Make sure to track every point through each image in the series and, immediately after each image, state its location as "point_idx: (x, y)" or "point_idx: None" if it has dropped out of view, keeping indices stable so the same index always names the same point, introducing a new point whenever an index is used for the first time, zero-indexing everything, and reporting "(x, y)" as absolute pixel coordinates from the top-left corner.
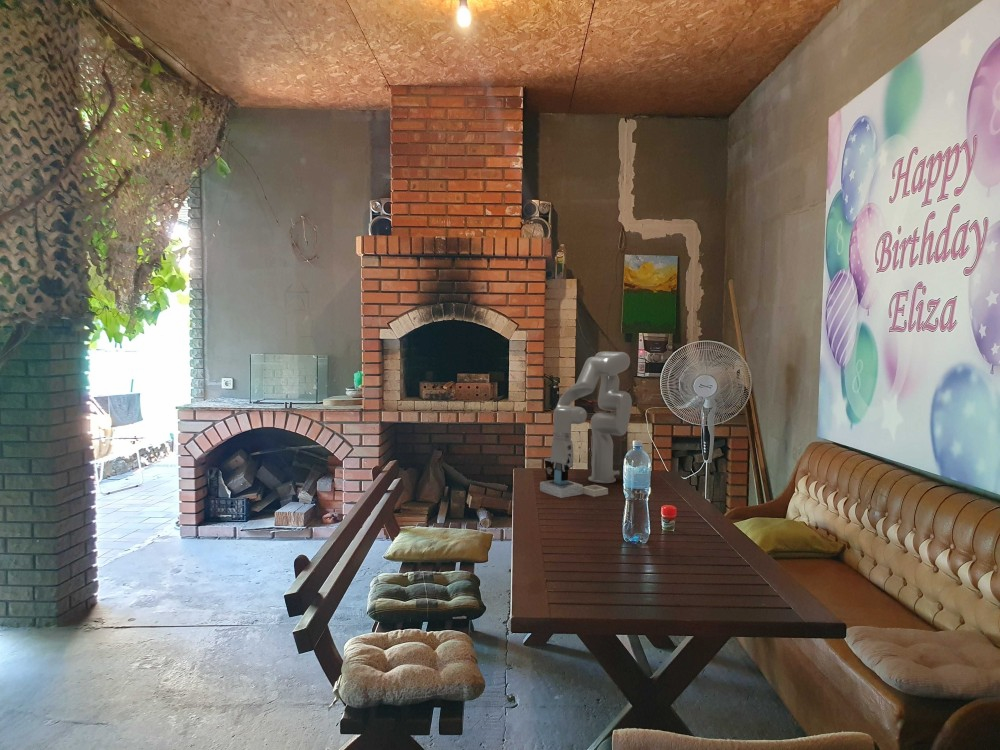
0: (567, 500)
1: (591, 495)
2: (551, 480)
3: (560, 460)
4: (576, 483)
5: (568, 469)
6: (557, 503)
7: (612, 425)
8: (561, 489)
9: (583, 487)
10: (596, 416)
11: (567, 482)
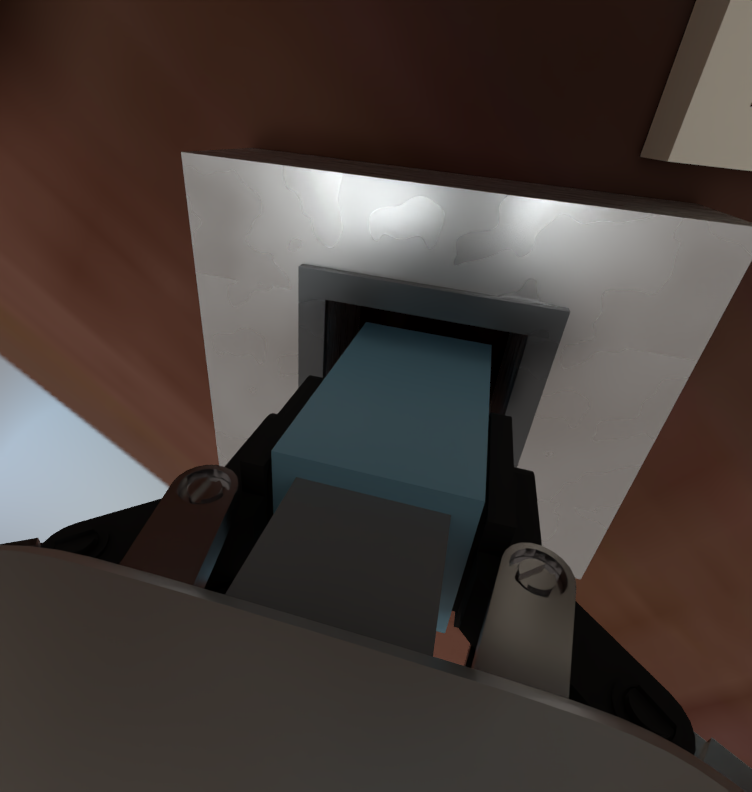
0: (668, 528)
1: None
2: (221, 361)
3: None
4: (597, 236)
5: (596, 646)
6: (639, 625)
7: None
8: (580, 568)
9: (720, 152)
10: None
11: (489, 371)
